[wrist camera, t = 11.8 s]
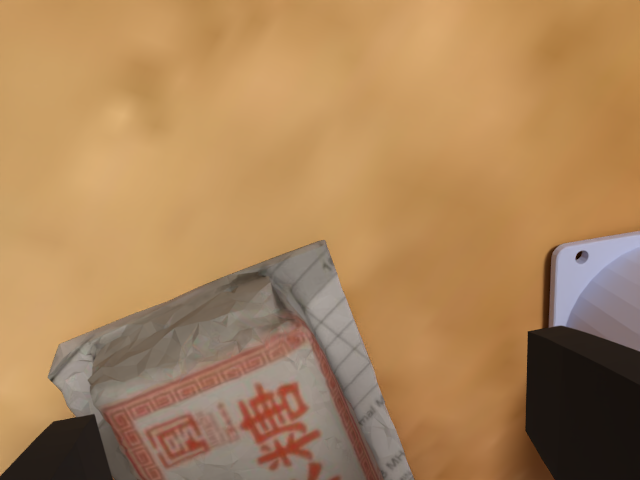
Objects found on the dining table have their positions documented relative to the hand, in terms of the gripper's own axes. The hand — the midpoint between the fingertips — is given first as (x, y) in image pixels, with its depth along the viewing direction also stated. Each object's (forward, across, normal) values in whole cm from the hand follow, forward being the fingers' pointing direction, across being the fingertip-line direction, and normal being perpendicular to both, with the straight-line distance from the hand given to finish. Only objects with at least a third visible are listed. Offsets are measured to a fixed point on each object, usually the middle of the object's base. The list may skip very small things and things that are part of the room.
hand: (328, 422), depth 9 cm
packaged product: (+11, +1, +10) cm, 15 cm away
